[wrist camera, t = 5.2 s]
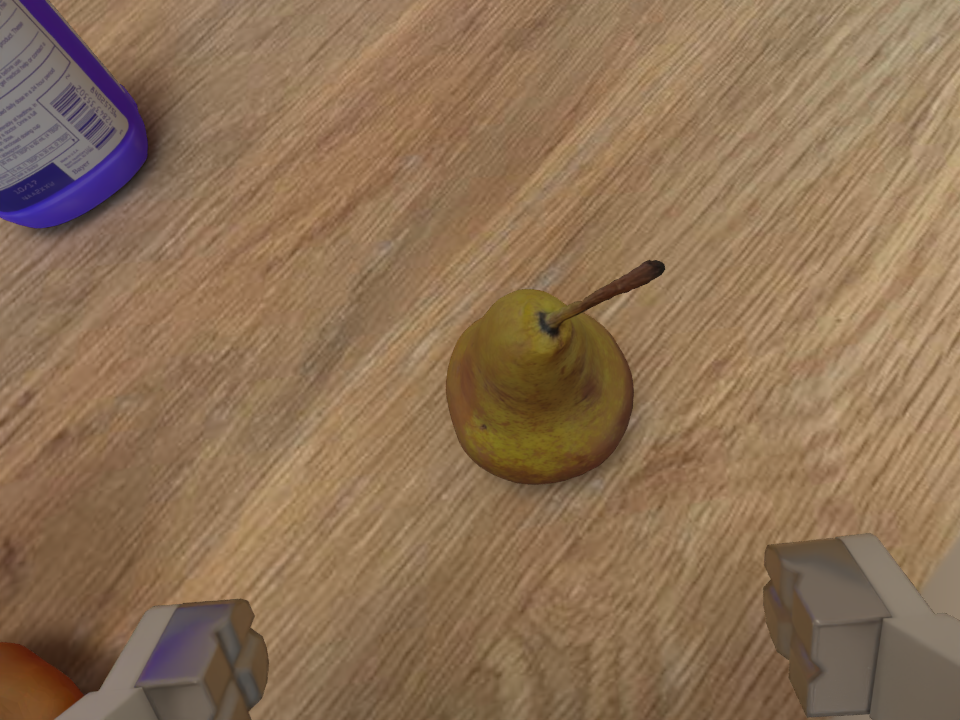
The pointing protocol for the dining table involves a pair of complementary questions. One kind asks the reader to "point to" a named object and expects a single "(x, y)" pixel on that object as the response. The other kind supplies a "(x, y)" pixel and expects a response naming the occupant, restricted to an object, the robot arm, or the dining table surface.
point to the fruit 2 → (542, 385)
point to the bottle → (59, 120)
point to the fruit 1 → (32, 686)
